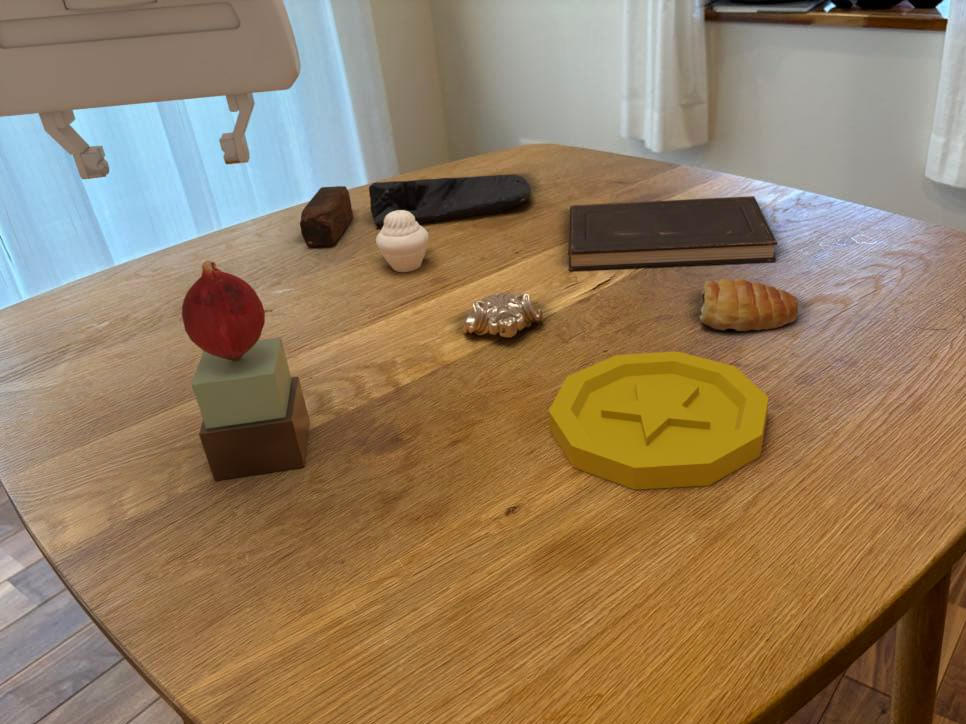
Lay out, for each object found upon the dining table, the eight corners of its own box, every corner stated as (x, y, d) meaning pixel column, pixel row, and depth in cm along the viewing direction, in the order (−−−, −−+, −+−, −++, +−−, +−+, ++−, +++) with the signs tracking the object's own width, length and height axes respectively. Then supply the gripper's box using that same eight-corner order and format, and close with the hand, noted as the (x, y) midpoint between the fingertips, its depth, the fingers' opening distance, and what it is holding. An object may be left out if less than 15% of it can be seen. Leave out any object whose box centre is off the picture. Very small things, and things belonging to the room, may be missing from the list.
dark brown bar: (326, 219, 118) (319, 186, 115) (354, 218, 117) (348, 184, 115) (304, 249, 109) (296, 214, 106) (334, 248, 108) (327, 212, 106)
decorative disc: (511, 422, 72) (508, 402, 71) (666, 352, 80) (666, 332, 79) (647, 520, 60) (647, 498, 59) (812, 426, 68) (815, 405, 67)
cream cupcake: (419, 279, 98) (410, 220, 94) (371, 275, 100) (360, 218, 96) (441, 258, 103) (433, 201, 99) (395, 255, 105) (386, 199, 101)
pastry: (792, 303, 87) (796, 268, 84) (801, 335, 81) (805, 298, 79) (698, 304, 88) (699, 269, 86) (700, 335, 82) (701, 299, 80)
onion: (289, 355, 66) (264, 258, 62) (222, 386, 63) (191, 286, 59) (249, 334, 70) (223, 241, 65) (184, 363, 66) (152, 266, 62)
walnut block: (214, 481, 67) (198, 434, 65) (226, 432, 73) (212, 387, 71) (304, 467, 68) (292, 420, 66) (309, 420, 74) (298, 375, 72)
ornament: (470, 354, 82) (466, 320, 80) (459, 323, 88) (455, 291, 86) (551, 340, 83) (549, 306, 81) (535, 311, 89) (533, 278, 87)
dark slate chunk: (533, 218, 112) (530, 182, 110) (365, 231, 113) (359, 196, 110) (529, 181, 125) (527, 149, 123) (379, 193, 126) (374, 161, 123)
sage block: (206, 429, 66) (191, 384, 63) (217, 390, 71) (204, 347, 68) (285, 417, 66) (273, 373, 64) (291, 379, 71) (280, 336, 69)
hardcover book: (775, 261, 95) (777, 242, 94) (568, 271, 97) (567, 251, 96) (752, 212, 109) (753, 194, 108) (571, 221, 111) (570, 203, 109)
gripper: (-109, -42, 48) (-10, 200, 55) (266, -70, 50) (313, 166, 57) (-61, -50, 53) (24, 171, 60) (276, -75, 55) (318, 141, 63)
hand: (167, 168), depth 59 cm, fingers open, 8 cm apart
